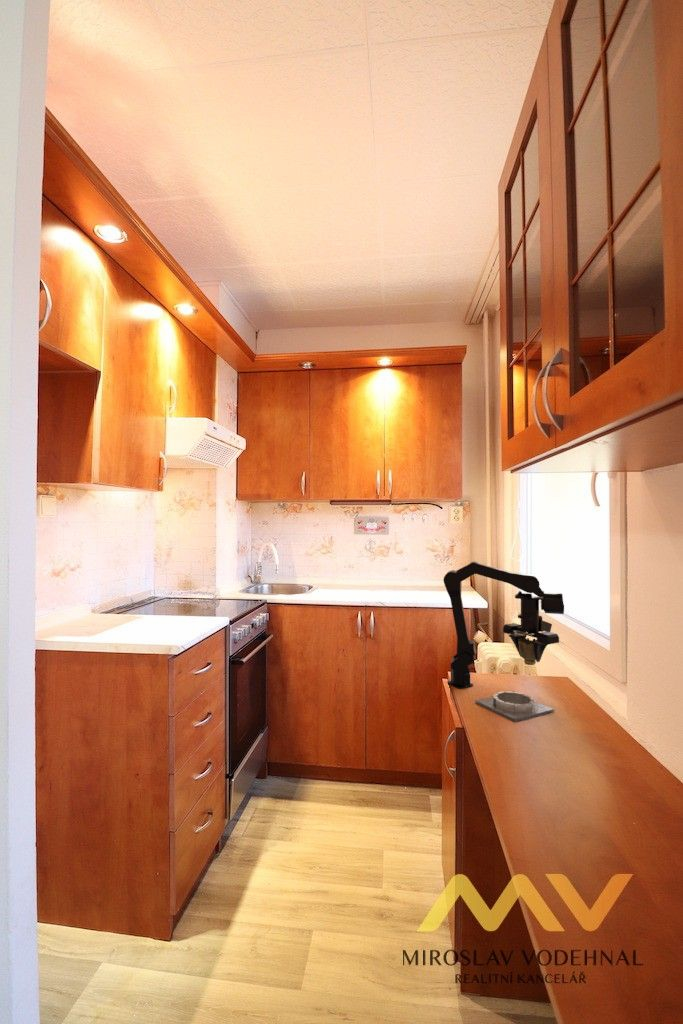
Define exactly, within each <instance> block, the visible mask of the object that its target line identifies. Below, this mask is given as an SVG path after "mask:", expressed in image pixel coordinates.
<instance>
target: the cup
mask: <svg viewBox="0 0 683 1024" xmlns="http://www.w3.org/2000/svg"><path fill="white" fill-rule="evenodd" d="M536 641H537V639H536V638H533V639H532V640H531V639H530V638H529V637H526V638H523V640H522V638H521V639H519V640H518V644H519V651H520V655H521V656H520V655H519V656H520V658H522V659H524V660H523V662H524V664H525V665H527V666H535V665H536V663H537V661H536V658H535V652H534V646H533V642H536Z"/></svg>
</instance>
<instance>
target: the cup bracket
mask: <svg viewBox="0 0 683 1024" xmlns="http://www.w3.org/2000/svg"><path fill="white" fill-rule="evenodd" d="M474 701H475V704H477V705H479V706H480V707H483V708H485V709H487V710H490V712H491V711H492V712H493V713H496V714H497V715H500V716H502V717H504V718H506V719H508V720H510V721H512V722H514V723H518V722H521V721H524V720H529V719H533V718H536V717H540V716H544V715H547V714H551V713H554V712H555V709H554V708H552V707H550V706H547V705H545V704H542V703H541V702H538V701H535V699H534V698H533V697H532V696H530V695H528V694H525V693H522V692H518V691H509V690H507V691H499V692H495V693H494V694H493V696H489V697H485V698H480V699H476V700H474Z"/></svg>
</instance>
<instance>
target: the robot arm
mask: <svg viewBox="0 0 683 1024" xmlns="http://www.w3.org/2000/svg"><path fill="white" fill-rule="evenodd" d="M473 575H477V576H478V575H479V576H482V577H486V578H489V579H493V580H495V581H499V582H503V583H505V584H509V585H512V586H514V587H515V588H517V589H519V591H518V592H517V593H516V594H515V595H514V598H515V599H517V600H519V599H520V614H517V618H518V619H520V623H506V624H504V625H503V627H502V633H503V634H506V635H508V637H510V639H511V641H512V642H513V643H512V644H513V645H514V646H515V648H516V651H517V652H518V655H519V656H520V657H521V655H520V651H519V644H518V640H519V639H521V638H522V640H523V638H526V639H527V636H528V637H532V638H534V639H536V640H537V641H536V642H533V646H534V652H535V658H536V660H535V661H536V663H540V661H541V659H542V656H543V654H544V652H545V649H546V648H547V646H548V645H553V644H558V643H560V637H559V634H557V633H555V632H552V631H551V630H552V626H553V624H552V623H551V622H547V621H545V620H543V616H542V615H540V610H542V611H543V613H544V614H554V615H565V614H564V613H565V604H564V598H563V597H564V596H563V594H562V593H561V592H552V593H551V592H545V591H544V589H542V587H540V581H539V579H538V578H537V576H536V575H533V574H532V573H524V572H523V573H522V572H512V571H508V570H504V569H500V568H497V567H494V566H491V565H487V564H483V563H479V562H477V561H471V562H470V563H469V564H467V565H465V566H463V567H460V568H458V569H457V570H448V571H447V572H446V574H444V576H443V585H444V587H445V589H446V592H447V595H448V596H449V599H450V604H451V610H452V616H453V621H454V626H455V627H454V628H455V633H456V639H457V640H456V654H455V655H453V656H452V658H451V661H450V680H448V681H447V682H446V684H449V685H451V686H452V687H455V688H457V689H465V688H469V687H474V684H473V683H471V671H470V670H471V669H470V667H469V666H470V665H472V664H473V663H474V660H475V656H477V649H476V646H475V644H476V643H475V639H471V638H470V636H469V632H468V627H467V621H466V616H465V610H464V609H465V608H464V605H463V598H462V584H463V583H462V582H463V581H464V580H465V581H466V579H469V578H470V577H472V576H473ZM523 591H524V592H525V593H524V592H523ZM533 594H534V595H535V596H533Z"/></svg>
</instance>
